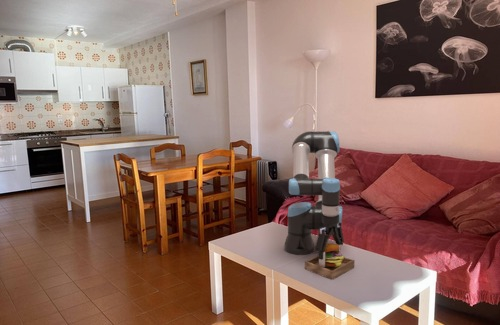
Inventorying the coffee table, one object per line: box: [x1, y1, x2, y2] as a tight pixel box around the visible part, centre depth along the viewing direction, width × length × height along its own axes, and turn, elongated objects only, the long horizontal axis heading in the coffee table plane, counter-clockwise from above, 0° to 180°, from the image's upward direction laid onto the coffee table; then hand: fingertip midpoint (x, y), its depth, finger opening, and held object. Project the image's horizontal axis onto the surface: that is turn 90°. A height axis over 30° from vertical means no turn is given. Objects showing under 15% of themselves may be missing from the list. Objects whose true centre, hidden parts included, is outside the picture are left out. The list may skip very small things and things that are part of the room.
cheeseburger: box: [324, 243, 345, 268], centre depth 168 cm, size 10×11×10 cm
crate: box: [304, 254, 355, 280], centre depth 169 cm, size 15×17×3 cm
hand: (329, 261), depth 169 cm, fingers closed on cheeseburger, 11 cm apart
